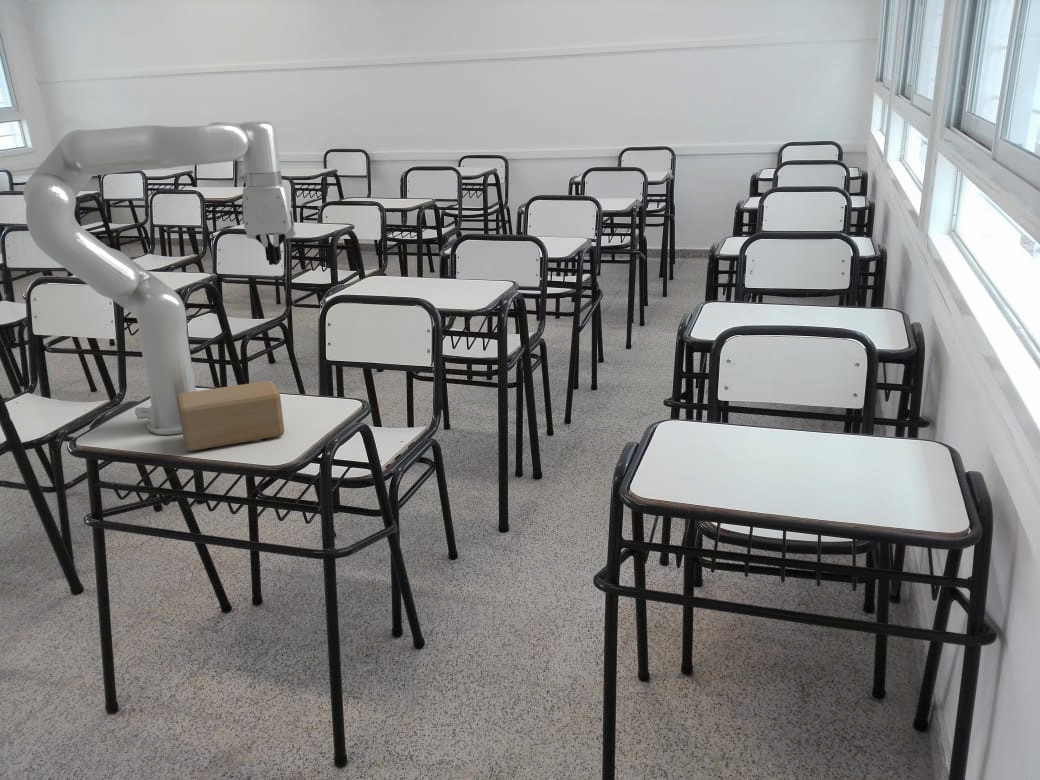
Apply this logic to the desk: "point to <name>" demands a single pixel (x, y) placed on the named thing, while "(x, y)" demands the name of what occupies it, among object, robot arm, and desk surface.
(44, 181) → the robot arm
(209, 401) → the wooden block
